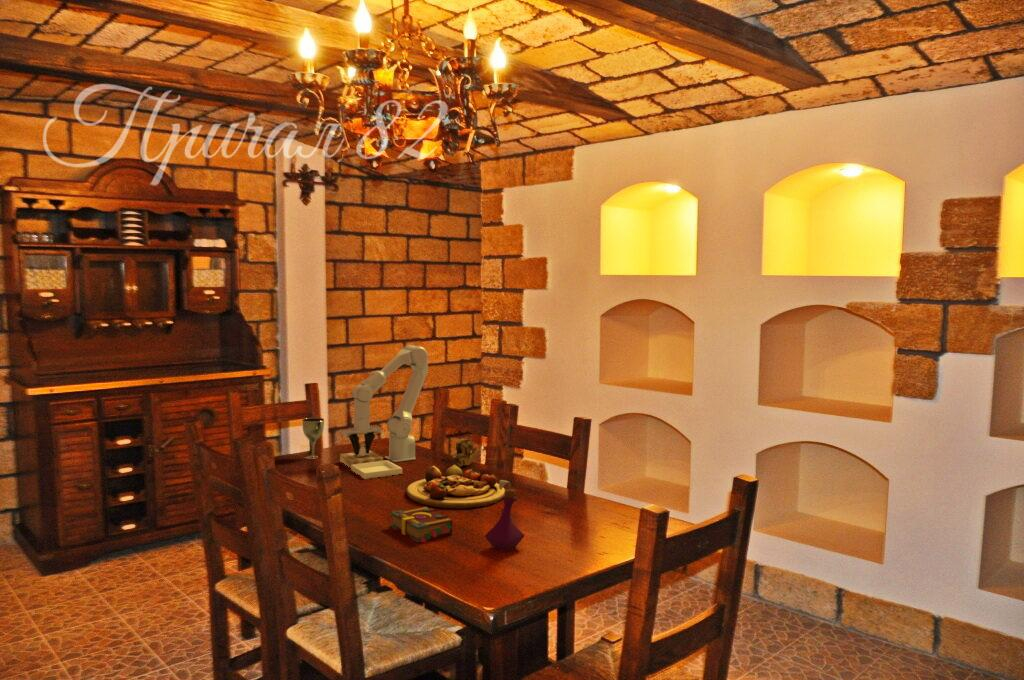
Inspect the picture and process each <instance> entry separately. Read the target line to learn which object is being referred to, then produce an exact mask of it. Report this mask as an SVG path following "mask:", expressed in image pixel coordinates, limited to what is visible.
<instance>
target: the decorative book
mask: <svg viewBox="0 0 1024 680" xmlns="http://www.w3.org/2000/svg"><path fill="white" fill-rule="evenodd" d="M390 515H391V516H392V523H390V528H392V529H394V530H396V531H399V532H400V533H401V535H404V536H407V537H409V538H410V539H411V540H412V541H414V542H415V543H422V542H424V543H427V541H430V540H432V539H435V538H440V536H441V537H444V535H445V536H448V534H450V535H453V519H451V518H449V517H448V515H447V514H445V513H444V514H443V513H442V514H441V513H439V512H437V511H436V509H434V508H433V507H430V508H429V507H428V506H425V505H424V506H421V507H420V506H419V507H414V508H409V509H404V510H403V509H401V510H393V511H390Z"/></svg>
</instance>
